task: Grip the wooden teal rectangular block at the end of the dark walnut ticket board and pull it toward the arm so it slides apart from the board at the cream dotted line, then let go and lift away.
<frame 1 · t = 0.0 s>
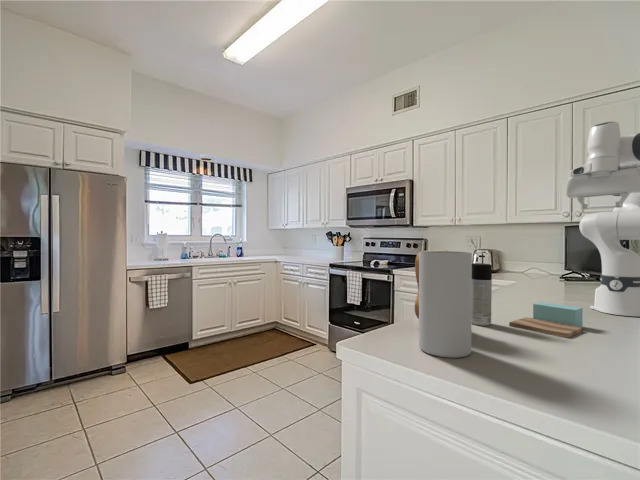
hand: (601, 208, 114), 39 cm above the countertop, tool pointing down, fingers open, 8 cm apart
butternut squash: (436, 330, 104), on the countertop
cylinder vase: (444, 350, 85), on the countertop
ticket board: (545, 328, 105), on the countertop
teal rectangular block: (557, 314, 110), point 3 cm above the countertop, slide at 0.0 cm
spray can: (480, 324, 111), on the countertop
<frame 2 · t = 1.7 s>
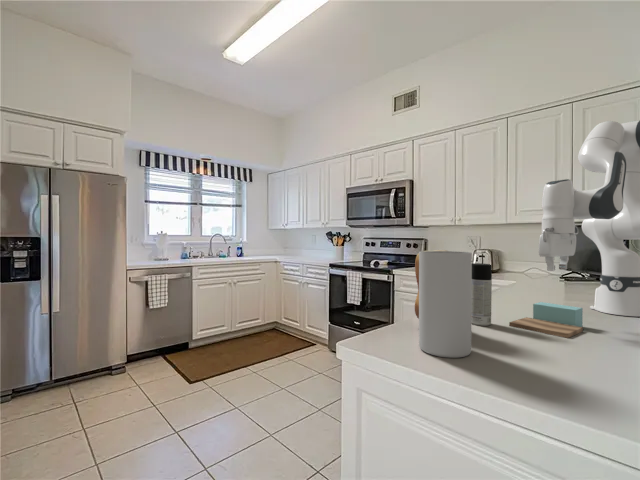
hand: (557, 270, 110), 18 cm above the countertop, tool pointing down, fingers open, 8 cm apart
nothing on the countertop moved.
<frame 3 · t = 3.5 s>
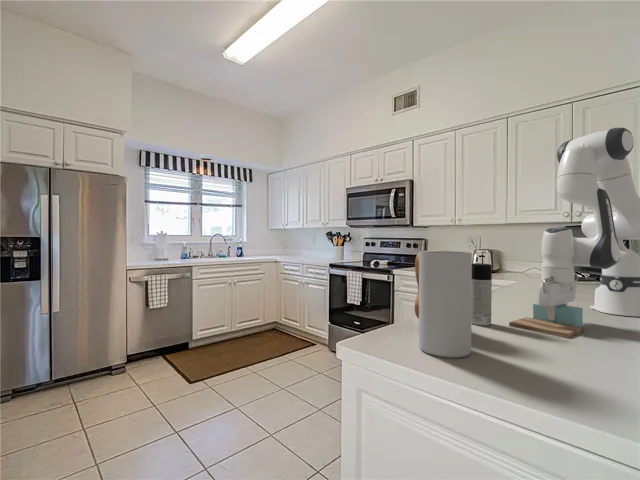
hand: (557, 317, 110), 2 cm above the countertop, tool pointing down, fingers closed on teal rectangular block, 6 cm apart
teal rectangular block: (557, 314, 110), point 3 cm above the countertop, slide at 0.0 cm, touching gripper
everything else where it was.
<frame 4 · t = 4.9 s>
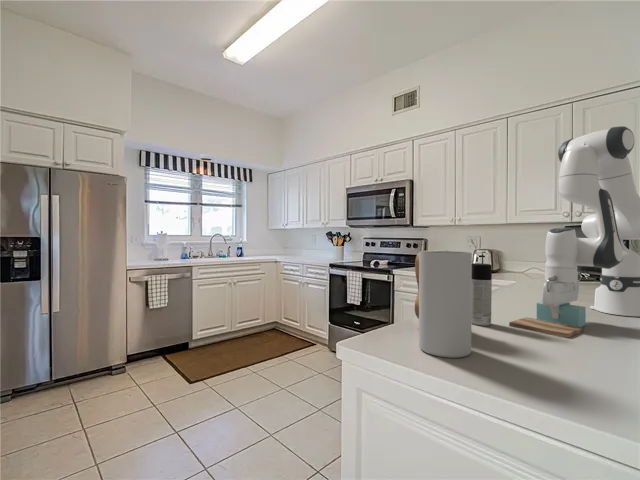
hand: (560, 316, 112), 2 cm above the countertop, tool pointing down, fingers closed on teal rectangular block, 6 cm apart
teal rectangular block: (560, 313, 112), point 3 cm above the countertop, slide at 2.8 cm, touching gripper
everything else where it was.
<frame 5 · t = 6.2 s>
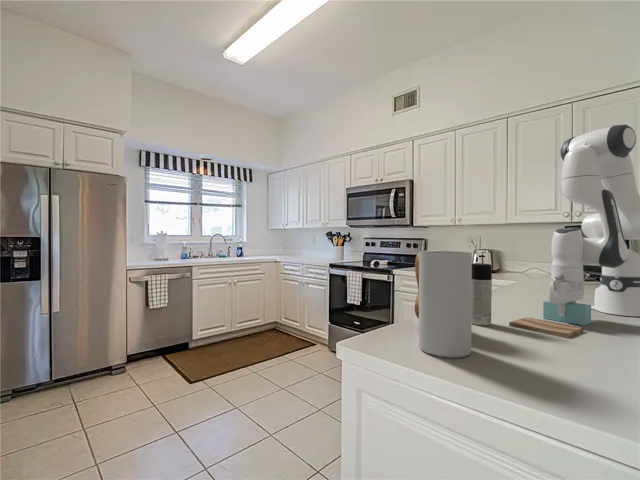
hand: (566, 314, 115), 2 cm above the countertop, tool pointing down, fingers closed on teal rectangular block, 6 cm apart
teal rectangular block: (566, 311, 115), point 3 cm above the countertop, slide at 8.0 cm, touching gripper
everything else where it was.
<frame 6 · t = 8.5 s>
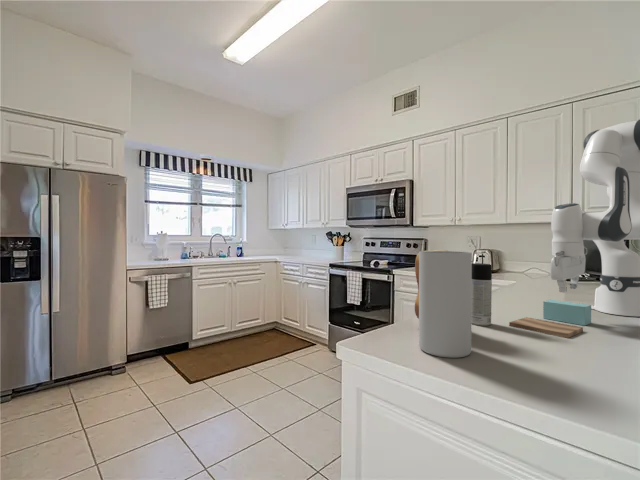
hand: (568, 290, 115), 10 cm above the countertop, tool pointing down, fingers open, 8 cm apart
teal rectangular block: (566, 311, 115), point 3 cm above the countertop, slide at 8.1 cm
everything else where it was.
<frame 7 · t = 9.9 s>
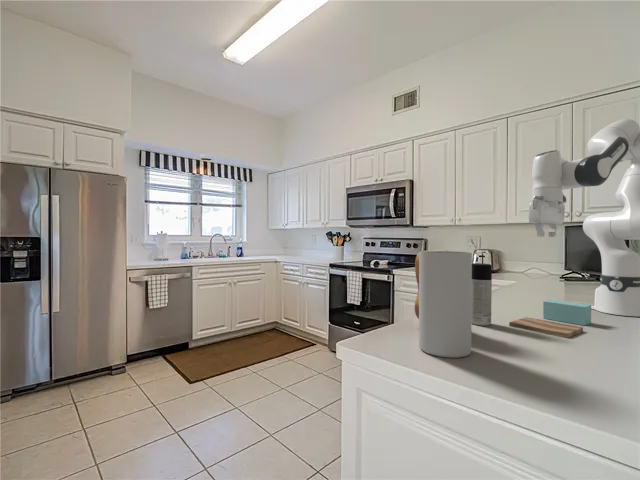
hand: (546, 236, 117), 29 cm above the countertop, tool pointing down, fingers open, 8 cm apart
nothing on the countertop moved.
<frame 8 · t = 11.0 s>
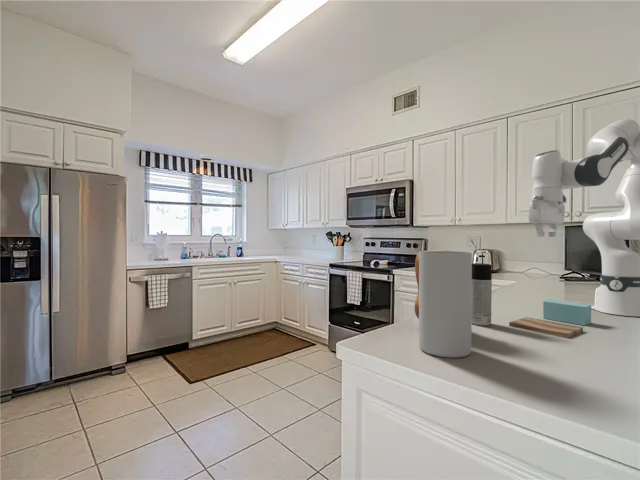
hand: (546, 236, 117), 29 cm above the countertop, tool pointing down, fingers open, 8 cm apart
nothing on the countertop moved.
at the end: teal rectangular block slide at 8.1 cm; the gripper is holding nothing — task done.
